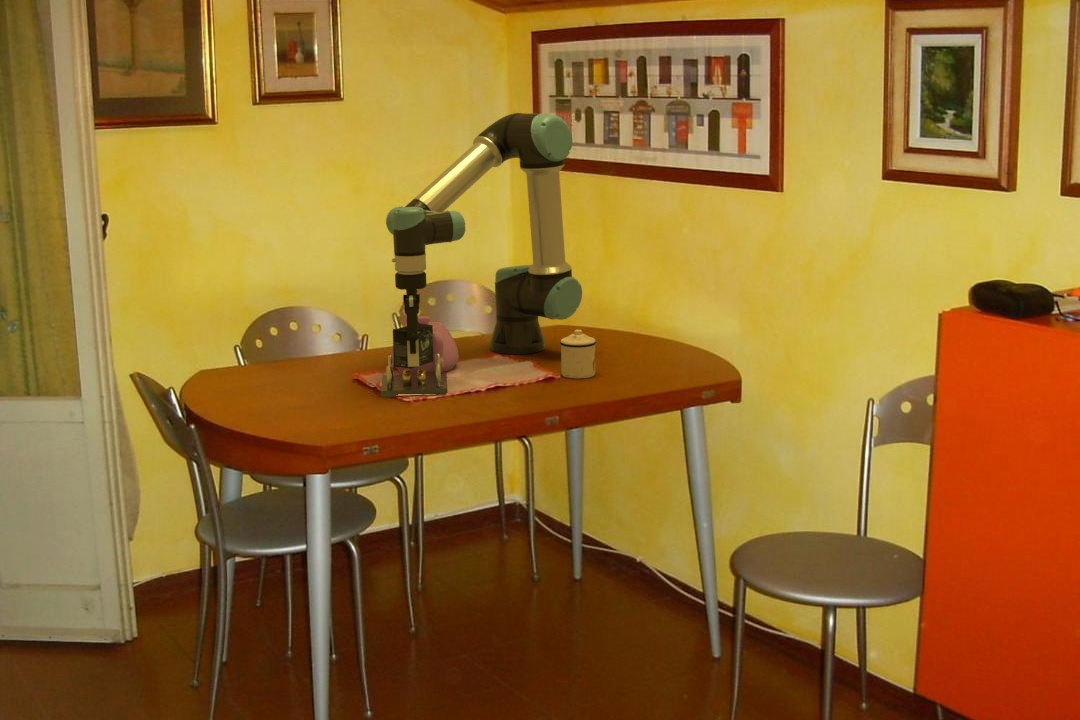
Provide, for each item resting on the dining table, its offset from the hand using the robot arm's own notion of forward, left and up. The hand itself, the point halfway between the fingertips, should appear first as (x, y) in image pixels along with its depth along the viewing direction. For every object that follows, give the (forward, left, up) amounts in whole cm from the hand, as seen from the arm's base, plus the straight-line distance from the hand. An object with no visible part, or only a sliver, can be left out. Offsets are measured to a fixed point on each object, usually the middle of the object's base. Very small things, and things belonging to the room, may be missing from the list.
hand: (413, 361), depth 325 cm
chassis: (0, 0, -7) cm, 7 cm away
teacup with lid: (-9, +41, -7) cm, 42 cm away
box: (0, 0, -1) cm, 1 cm away
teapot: (-22, +2, -7) cm, 23 cm away
